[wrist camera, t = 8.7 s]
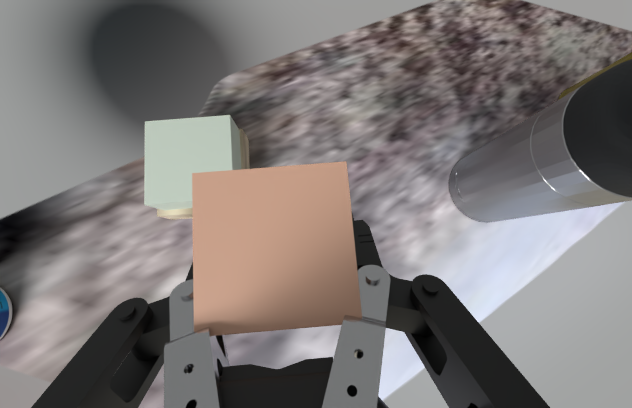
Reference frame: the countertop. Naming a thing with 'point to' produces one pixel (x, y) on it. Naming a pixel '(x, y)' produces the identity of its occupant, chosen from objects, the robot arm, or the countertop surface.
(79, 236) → the countertop surface
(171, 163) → the tower top
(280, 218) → the square block
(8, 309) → the beverage bottle
